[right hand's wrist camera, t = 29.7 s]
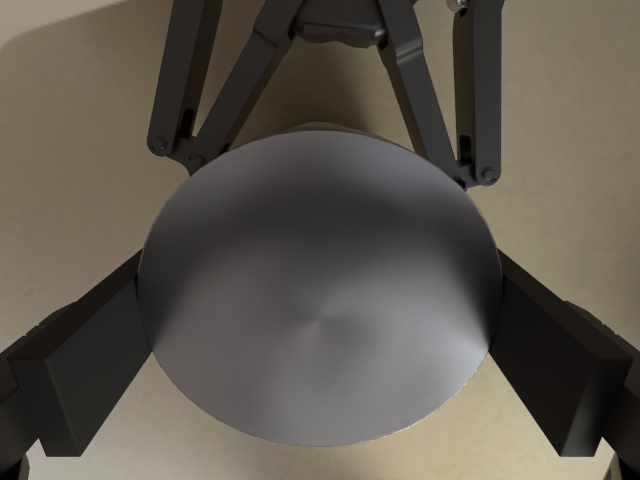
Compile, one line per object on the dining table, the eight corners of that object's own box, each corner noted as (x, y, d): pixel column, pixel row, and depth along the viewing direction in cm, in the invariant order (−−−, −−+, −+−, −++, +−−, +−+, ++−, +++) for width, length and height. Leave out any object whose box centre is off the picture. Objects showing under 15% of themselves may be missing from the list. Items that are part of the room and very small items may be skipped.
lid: (422, 422, 14) (436, 465, 12) (159, 383, 13) (135, 424, 12) (528, 164, 10) (569, 176, 9) (168, 91, 10) (136, 87, 8)
